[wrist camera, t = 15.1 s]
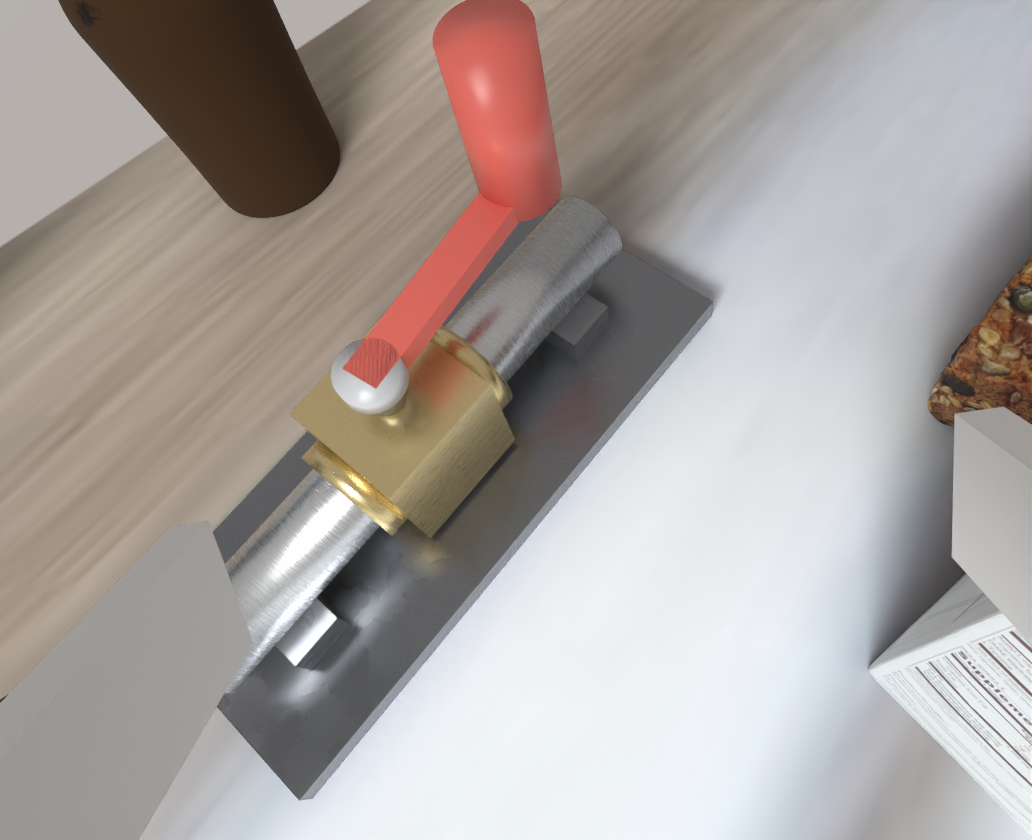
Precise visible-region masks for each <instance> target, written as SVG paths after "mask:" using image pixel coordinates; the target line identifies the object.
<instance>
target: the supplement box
mask: <svg viewBox="0 0 1032 840" xmlns="http://www.w3.org/2000/svg"><path fill="white" fill-rule="evenodd" d="M868 671H869V673H870V674H871V675H872V677H873V678H874V679H875V680H876V681H877V682H878V683H879V684H880V685H881V686H882V687H883V688H884V689H885V690H886V691H887V692H888V693H889V694H890V695H891V696H892V697H893V698H894V699H895V700H896V701H897V702H898V703H899V704H900V705H901V706H902V707H903V708H904V709H905V710H906V711H907V712H908V713H909V714H910V715H911V716H912V717H913V718H914V719H915V720H916V721H917V722H918V723H919V724H920V725H921V726H922V727H923V728H924V729H925V730H926V731H927V732H928V733H929V734H930V735H931V736H932V737H933V738H934V739H935V740H936V741H937V742H938V743H939V744H940V745H941V746H942V747H943V748H944V749H945V750H946V751H947V752H948V753H949V754H950V755H951V756H952V757H953V758H954V759H955V760H956V761H957V762H958V763H959V764H960V765H961V766H962V767H963V768H964V769H965V770H966V771H967V772H968V773H969V774H970V775H971V776H972V777H973V778H974V779H975V780H976V781H977V782H978V783H979V784H980V785H981V786H982V787H983V788H984V789H985V790H986V791H987V793H988V794H989V795H990V796H991V797H992V798H993V799H994V800H995V801H996V802H997V803H998V804H999V805H1000V806H1001V807H1002V808H1003V809H1004V810H1005V811H1006V812H1007V813H1008V814H1009V815H1010V816H1011V817H1012V818H1013V819H1014V820H1015V821H1016V822H1017V823H1018V824H1019V825H1020V826H1021V827H1022V828H1023V829H1024V830H1025V831H1026V832H1028V833H1029V834H1030V835H1031V836H1032V645H1031V644H1030V643H1029V642H1028V641H1027V640H1026V639H1025V638H1024V637H1023V636H1022V634H1021V633H1020V632H1019V631H1018V630H1017V629H1016V628H1015V627H1014V626H1013V624H1012V623H1011V622H1010V621H1009V620H1008V619H1007V618H1006V617H1005V616H1004V614H1003V613H1002V612H1001V611H1000V610H999V609H998V608H997V607H996V606H995V605H994V603H993V602H992V601H991V600H990V599H989V598H988V597H987V596H986V595H985V593H984V592H983V591H982V590H981V589H980V588H979V587H978V586H977V585H976V583H975V582H974V581H973V580H972V579H971V578H970V577H969V576H968V575H967V574H965V575H964V576H963V577H962V578H961V579H960V580H959V581H958V582H957V583H956V584H955V585H954V586H952V587H951V588H950V589H949V590H948V591H947V592H946V593H945V594H944V595H943V596H942V597H941V598H940V599H939V600H938V601H937V602H936V603H935V604H934V605H933V606H931V607H930V608H929V609H928V610H927V611H926V612H925V613H924V614H923V615H922V616H921V617H920V618H919V619H918V620H917V621H916V622H915V623H914V624H913V625H911V626H910V627H909V628H908V629H907V630H906V631H905V632H904V633H903V634H902V635H901V636H900V637H899V638H898V639H897V640H896V641H895V642H894V643H893V644H892V645H891V646H890V647H889V648H888V649H887V650H886V651H884V652H883V653H882V654H881V655H880V656H879V657H878V658H877V659H876V660H875V661H874V662H873V663H872V664H871V666H870V667H869V669H868Z"/></svg>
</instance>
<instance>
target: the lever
mask: <svg viewBox="0 0 1032 840" xmlns="http://www.w3.org/2000/svg"><path fill="white" fill-rule="evenodd" d="M433 47H434V50H435V53H436V56H437V60H438V63H439V66H440V69H441V72H442V76H443V79H444V82H445V85H446V88H447V91H448V95H449V98H450V101H451V104H452V107H453V111H454V114H455V117H456V120H457V123H458V126H459V130H460V133H461V136H462V139H463V142H464V145H465V149H466V152H467V155H468V158H469V161H470V165H471V168H472V171H473V174H474V177H475V180H476V184H477V187H478V190H479V194H478V195H477V196H476V197H475V199H474V200H473V201H472V203H471V204H470V205H469V206H468V208H467V209H466V210H465V212H464V213H463V214H462V215H461V217H460V218H459V219H458V221H457V222H456V223H455V224H454V226H453V227H452V228H451V230H450V231H449V232H448V233H447V235H446V236H445V237H444V239H443V240H442V241H441V242H440V244H439V245H438V246H437V248H436V249H435V250H434V251H433V253H432V254H431V255H430V256H429V258H428V259H427V260H426V262H425V263H424V264H423V265H422V267H421V268H420V269H419V271H418V272H417V273H416V274H415V276H414V277H413V278H412V280H411V281H410V282H409V283H408V285H407V286H406V287H405V289H404V290H403V291H402V292H401V294H400V295H399V296H398V298H397V299H396V300H395V301H394V303H393V304H392V305H391V306H390V308H389V309H388V310H387V312H386V313H385V314H384V315H383V317H382V318H381V319H380V321H379V322H378V323H377V324H376V326H375V327H374V328H373V330H372V331H371V332H370V333H369V335H368V336H367V337H366V338H364V339H360V340H357V341H355V342H353V343H351V344H349V345H348V346H347V347H345V348H344V349H343V350H342V351H341V352H340V353H339V355H338V356H337V357H336V359H335V361H334V363H333V366H332V370H331V381H332V385H333V387H334V389H335V391H336V392H337V394H338V395H339V396H340V397H341V398H342V399H343V400H344V401H345V403H346V404H347V405H348V406H349V407H350V408H352V409H353V410H355V411H357V412H359V413H363V414H377V413H381V412H384V411H386V410H388V409H390V408H391V407H393V406H394V405H396V404H397V403H398V402H399V401H400V399H401V398H402V397H403V395H404V394H405V392H406V390H407V387H408V383H409V372H408V369H409V368H410V367H411V365H412V364H413V363H414V361H415V360H416V359H417V357H418V356H419V355H420V353H421V352H422V351H423V349H424V348H425V347H426V345H427V344H428V343H429V341H430V340H431V339H432V337H433V336H434V335H435V333H436V332H437V331H438V329H439V328H440V327H441V325H442V324H443V323H444V321H445V320H446V319H447V318H448V316H449V315H450V314H451V312H452V311H453V310H454V308H455V307H456V306H457V304H458V303H459V302H460V300H461V299H462V298H463V296H464V295H465V294H466V292H467V291H468V290H469V288H470V287H471V286H472V284H473V283H474V282H475V280H476V279H477V278H478V276H479V275H480V274H481V272H482V271H483V270H484V268H485V267H486V266H487V264H488V263H489V262H490V260H491V259H492V258H493V256H494V255H495V254H496V252H497V251H498V250H499V248H500V247H501V246H502V244H503V243H504V242H505V240H506V239H507V238H508V236H509V235H510V234H511V232H512V231H513V230H514V228H515V227H516V226H517V224H518V223H519V222H523V221H528V220H531V219H534V218H537V217H539V216H541V215H542V214H544V213H545V212H547V211H548V210H549V209H550V208H551V207H552V206H553V205H554V204H555V202H556V201H557V199H558V197H559V195H560V192H561V187H562V184H561V176H560V170H559V164H558V158H557V152H556V146H555V140H554V134H553V128H552V122H551V116H550V110H549V104H548V98H547V92H546V85H545V79H544V73H543V67H542V61H541V55H540V49H539V43H538V37H537V31H536V25H535V19H534V16H533V13H532V12H531V10H530V9H529V7H528V6H527V5H526V4H524V3H523V2H522V1H520V0H466V1H464V2H462V3H460V4H458V5H457V6H455V7H454V8H452V9H451V10H450V11H448V12H447V13H446V14H445V15H444V16H443V17H442V19H441V20H440V21H439V23H438V24H437V26H436V28H435V31H434V34H433Z"/></svg>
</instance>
